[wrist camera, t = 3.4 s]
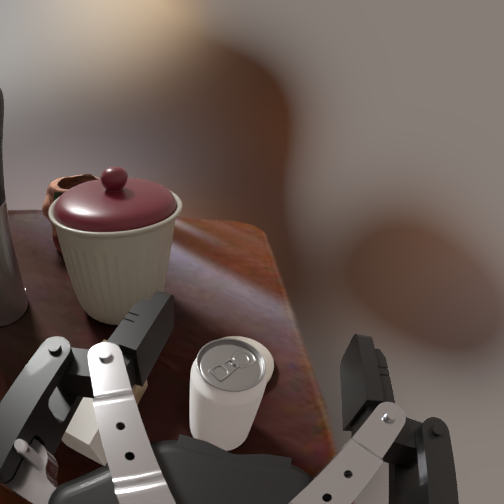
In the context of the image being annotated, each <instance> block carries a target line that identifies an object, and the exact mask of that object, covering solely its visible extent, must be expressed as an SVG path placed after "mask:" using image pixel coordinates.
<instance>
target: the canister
mask: <svg viewBox="0 0 504 504" xmlns="http://www.w3.org/2000/svg"><path fill="white" fill-rule="evenodd" d="M181 210H182V202H181V200H180V199H179V197H178V196H177V195H176V194H175V193H173V192H171V191H170V190H168V189H167V188H165V187H164V186H162V185H160V184H158V183H155V182H151V181H148V180H143V179H136V178H128V175H127V172H126V171H125V170H124V169H123V168H121V167H109V168H107V169H105V170H104V171H103V173H102V174H101V179H98V180H93V181H88V182H85V183H82V184H79V185H77V186H74V187H72V188H70V189H69V190H67V191H66V192H64V193H63V194H62V195H61V196H60V197H58V198H57V199H56V200H55V201H54V202H53V203H52V204H51V206H50V208H49V211H48V215H49V219H50V221H51V222H52V224H53V225H54V226H55V227H56V231H57V235H58V240H59V243H60V247H61V251H62V254H63V258H64V261H65V265H66V268H67V271H68V274H69V277H70V280H71V283H72V286H73V289H74V291H75V294H76V297H77V299H78V301H79V303H80V305H81V306H82V308H83V309H84V311H85V312H87V314H88V315H89V316H91V317H92V318H93V319H95V320H98V321H99V322H103V323H105V324H111V325H118V326H119V324H120V323H121V321H122V320H124V317H125V316H126V315H127V313H129V311H130V309H131V308H132V307H133V305H134V304H136V303H137V302H139V301H141V300H142V299H147V300H150V299H151V297H152V296H153V294H154V293H155V292H156V291H161V292H164V289H165V283H166V277H167V271H168V264H169V258H170V251H171V244H172V238H173V232H174V226H175V219H176V218H177V217H178V215H179V214H180V212H181Z"/></svg>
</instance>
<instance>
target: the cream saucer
mask: <svg viewBox="0 0 504 504" xmlns="http://www.w3.org/2000/svg"><path fill="white" fill-rule="evenodd" d="M224 338H231V339H237V340H241V341H244V342H246V343H249V344H250V345H252V346H253V347H255V348H256V349H257V350H258V351H259V352H260V353H261V355H262V356H263V358H264V360H265V364H266V375H267V383H268V382H269V380H270V379H271V376H272V373H273V370H274V361H273V358H272V356H271V354H270V352H269V351H268V350H267V349H266V348H265V347H264V346H263V345H261V344H260V343H258V342H257V341H255V340H252V339H249V338H246V337H240V336H229V337H224ZM221 339H223V338H221ZM267 383H266V384H267Z"/></svg>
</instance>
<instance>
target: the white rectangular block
mask: <svg viewBox="0 0 504 504" xmlns="http://www.w3.org/2000/svg"><path fill="white" fill-rule="evenodd" d="M61 440H62V441H63V442H64V443H65V444H66V445H67V446H69V447H70V448H72V449H74V450H75V451H77V452H79V453H81V454H82V455H84V456H86V457H88V458H90V459H92V460H94V461H95V462H97V463H99V464H101V465H103V466H105V465H106V463H107V459H106V456H105V452H104V448H103V445H102V441H101V437H100V433H99V428H98V424H97V420H96V415H95V410H94V405H93V398H86V397H83V399H82V401H81V402H80V404H79V406H78V408H77V410H76V412H75V414H74V416H73V418H72V420H71V421H70V423H69V425H68V427H67V429H66V431H65V433H64V435H63V437H62V439H61Z"/></svg>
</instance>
